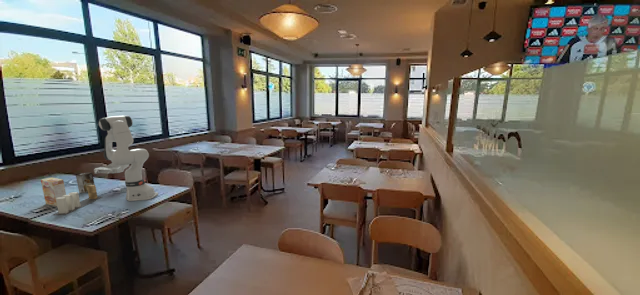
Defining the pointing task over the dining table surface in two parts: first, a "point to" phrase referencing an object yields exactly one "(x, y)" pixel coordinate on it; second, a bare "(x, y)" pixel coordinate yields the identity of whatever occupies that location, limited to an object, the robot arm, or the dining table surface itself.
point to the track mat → (82, 203)
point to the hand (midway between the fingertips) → (101, 172)
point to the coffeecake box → (53, 190)
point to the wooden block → (92, 192)
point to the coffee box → (84, 181)
